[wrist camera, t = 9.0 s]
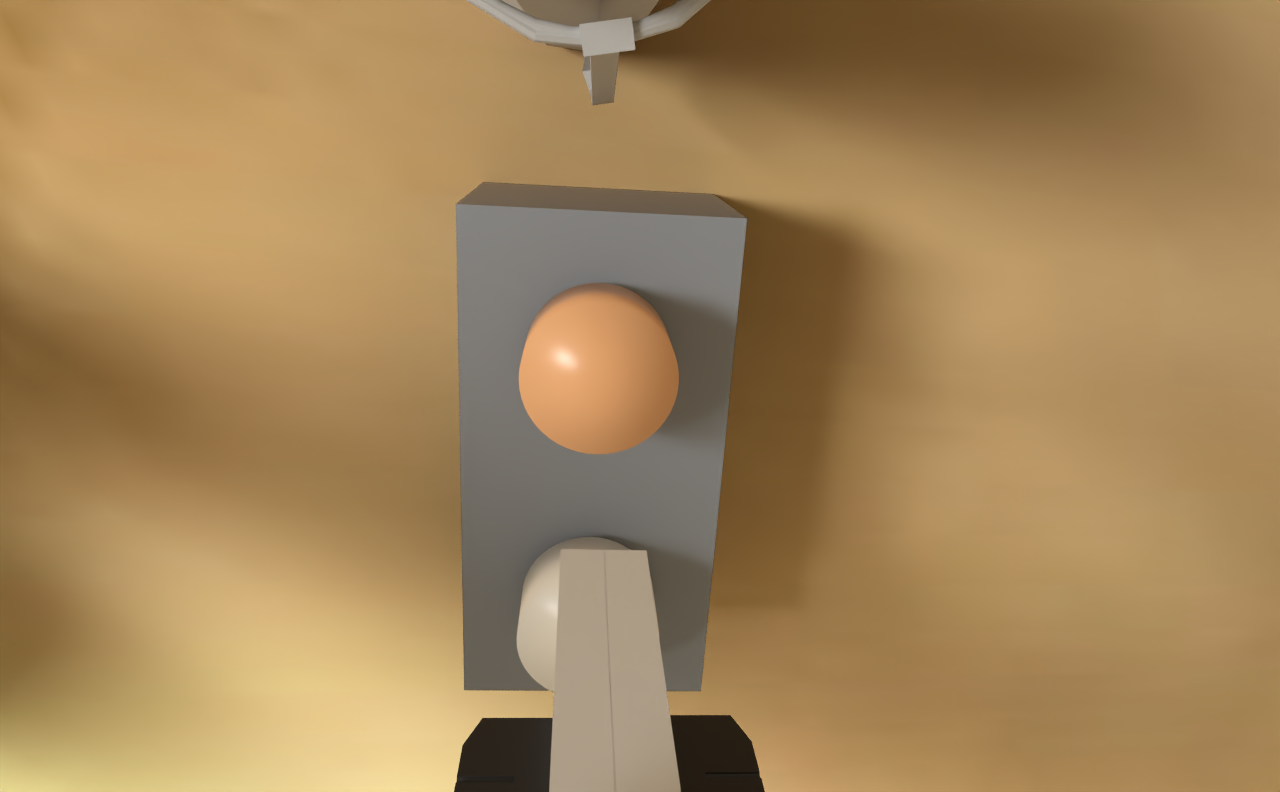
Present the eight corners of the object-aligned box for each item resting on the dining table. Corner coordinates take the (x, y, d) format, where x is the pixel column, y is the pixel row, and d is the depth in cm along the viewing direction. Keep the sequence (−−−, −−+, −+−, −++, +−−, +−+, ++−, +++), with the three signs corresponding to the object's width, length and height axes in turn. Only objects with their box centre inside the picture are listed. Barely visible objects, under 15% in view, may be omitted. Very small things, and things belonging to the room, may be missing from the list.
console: (485, 585, 42) (464, 690, 35) (483, 182, 36) (455, 203, 28) (684, 588, 43) (705, 691, 36) (717, 194, 36) (752, 218, 29)
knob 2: (533, 548, 41) (516, 698, 31) (534, 452, 40) (516, 577, 29) (637, 550, 42) (654, 699, 31) (643, 455, 40) (663, 579, 30)
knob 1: (536, 356, 38) (518, 452, 28) (538, 242, 36) (519, 299, 26) (649, 360, 38) (673, 456, 28) (656, 247, 37) (684, 306, 26)
